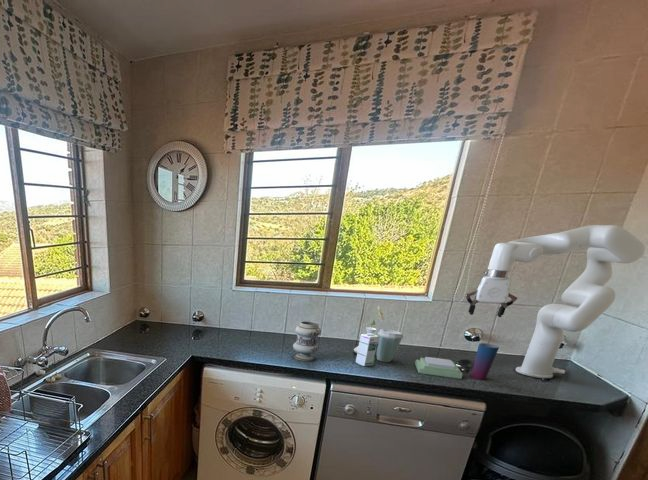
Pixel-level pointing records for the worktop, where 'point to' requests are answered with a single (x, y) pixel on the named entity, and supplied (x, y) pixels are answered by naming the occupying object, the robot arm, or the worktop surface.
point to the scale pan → (439, 362)
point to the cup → (484, 360)
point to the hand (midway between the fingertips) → (484, 315)
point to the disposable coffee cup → (388, 344)
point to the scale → (437, 370)
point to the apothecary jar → (306, 340)
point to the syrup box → (367, 349)
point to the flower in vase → (370, 329)
